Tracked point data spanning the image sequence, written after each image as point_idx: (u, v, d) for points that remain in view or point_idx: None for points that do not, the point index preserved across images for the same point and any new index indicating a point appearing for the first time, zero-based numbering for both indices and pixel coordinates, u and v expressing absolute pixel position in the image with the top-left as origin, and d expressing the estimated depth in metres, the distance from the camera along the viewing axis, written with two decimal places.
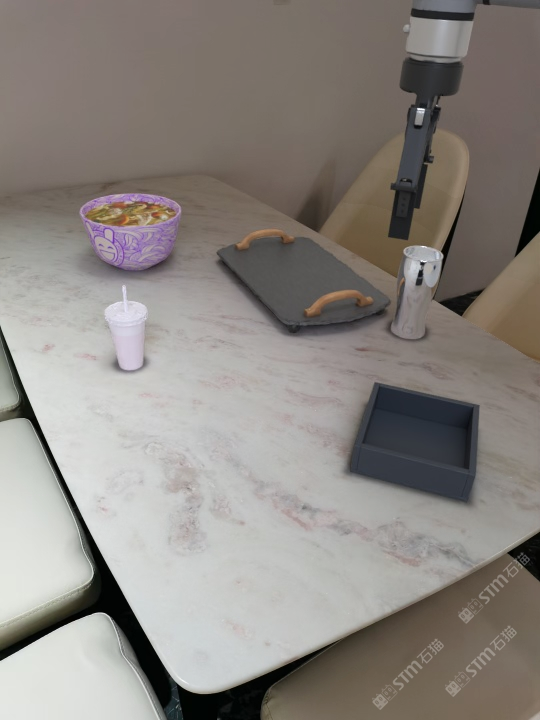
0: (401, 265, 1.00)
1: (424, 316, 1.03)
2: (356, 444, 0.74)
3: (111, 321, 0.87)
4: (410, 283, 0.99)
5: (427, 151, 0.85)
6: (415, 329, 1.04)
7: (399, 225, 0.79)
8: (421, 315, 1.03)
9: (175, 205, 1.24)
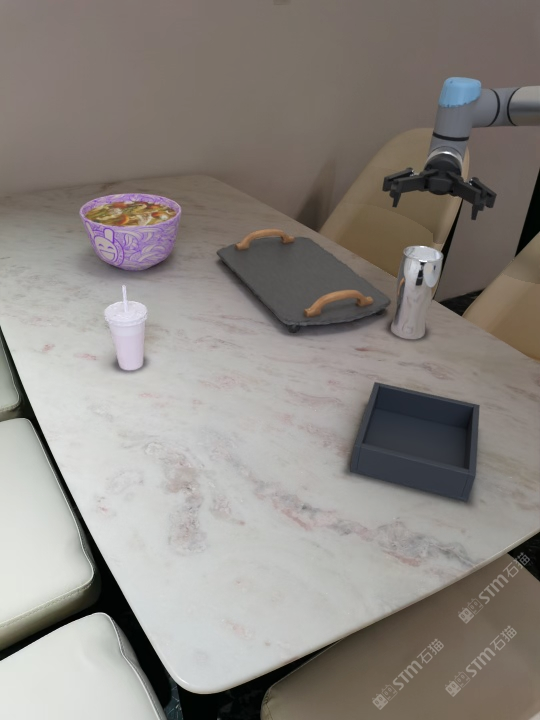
0: (401, 265, 1.00)
1: (424, 316, 1.03)
2: (356, 444, 0.74)
3: (111, 321, 0.87)
4: (410, 283, 0.99)
5: (471, 190, 1.08)
6: (415, 329, 1.04)
7: None
8: (421, 315, 1.03)
9: (175, 205, 1.24)
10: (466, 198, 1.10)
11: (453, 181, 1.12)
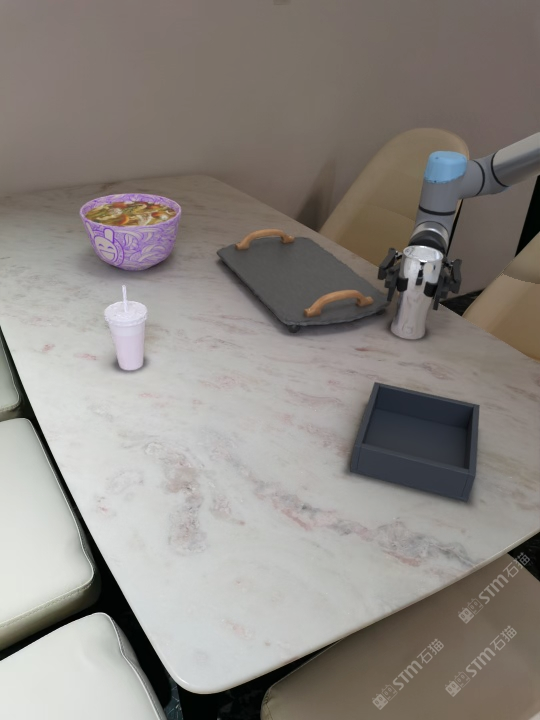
0: (401, 265, 1.00)
1: (424, 316, 1.03)
2: (356, 444, 0.74)
3: (111, 321, 0.87)
4: (410, 283, 0.99)
5: None
6: (415, 329, 1.04)
7: None
8: (421, 315, 1.03)
9: (175, 205, 1.24)
10: None
11: None
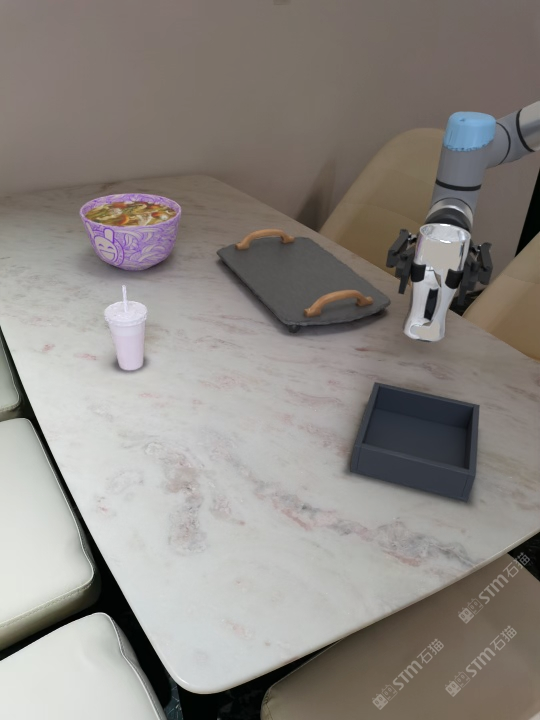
0: (417, 248, 0.78)
1: (445, 313, 0.82)
2: (356, 444, 0.74)
3: (111, 321, 0.87)
4: (428, 271, 0.77)
5: None
6: (434, 329, 0.82)
7: None
8: (441, 311, 0.81)
9: (175, 205, 1.24)
10: None
11: None
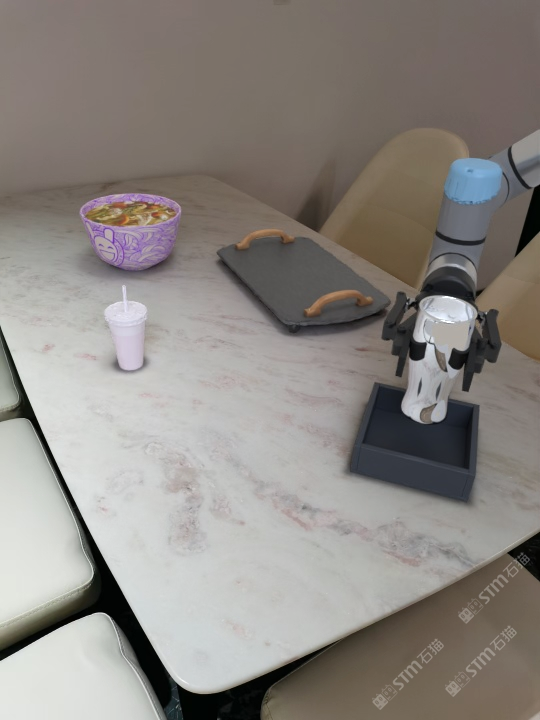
0: (416, 325, 0.69)
1: (448, 394, 0.73)
2: (356, 444, 0.74)
3: (111, 321, 0.87)
4: (429, 352, 0.68)
5: None
6: (435, 412, 0.73)
7: None
8: (443, 393, 0.72)
9: (175, 205, 1.24)
10: None
11: None
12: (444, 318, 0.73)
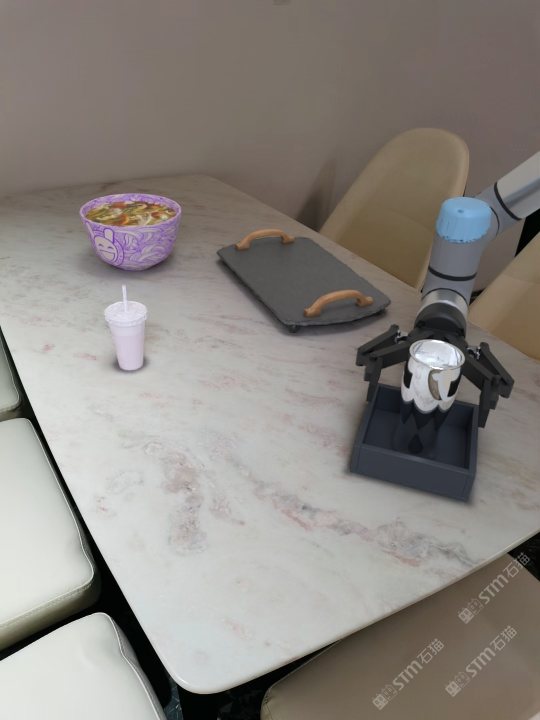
0: (406, 369, 0.73)
1: (437, 433, 0.76)
2: (356, 444, 0.74)
3: (111, 321, 0.87)
4: (419, 395, 0.72)
5: (478, 371, 0.77)
6: (425, 450, 0.77)
7: None
8: (433, 432, 0.76)
9: (175, 205, 1.24)
10: (471, 379, 0.79)
11: None
12: (434, 360, 0.76)
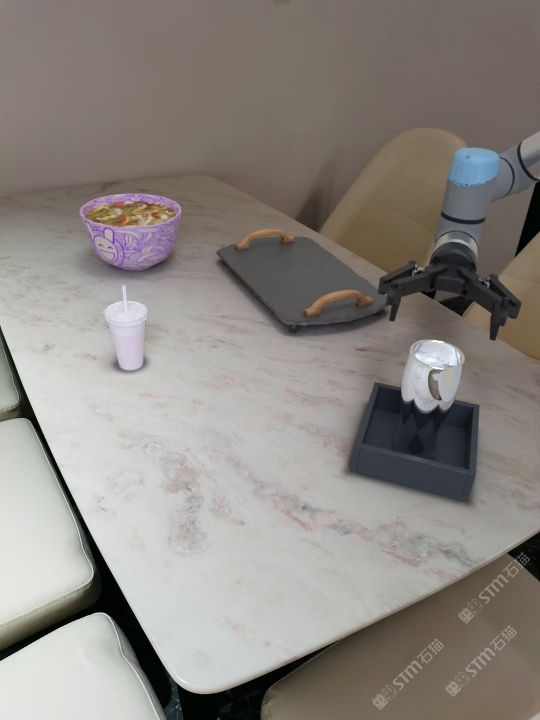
0: (407, 369, 0.73)
1: (437, 433, 0.76)
2: (356, 444, 0.74)
3: (111, 321, 0.87)
4: (419, 395, 0.72)
5: (489, 295, 0.86)
6: (425, 450, 0.77)
7: None
8: (433, 432, 0.75)
9: (175, 205, 1.24)
10: (483, 304, 0.88)
11: (466, 281, 0.90)
12: (434, 360, 0.76)
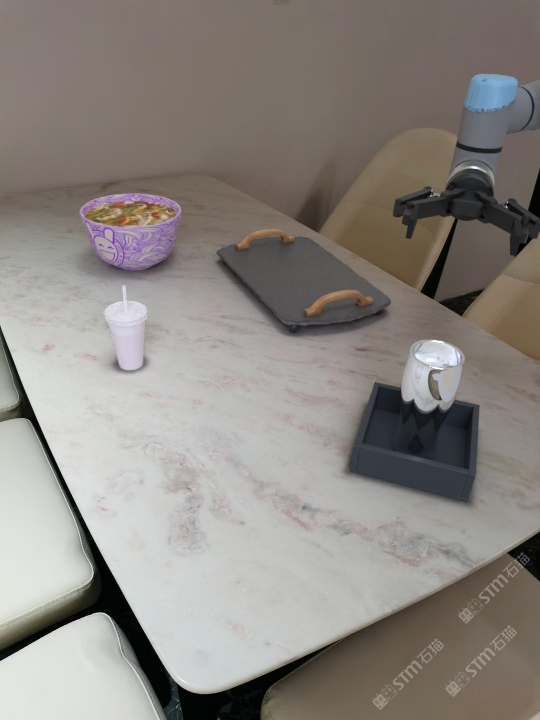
0: (407, 369, 0.73)
1: (437, 433, 0.76)
2: (356, 444, 0.74)
3: (111, 321, 0.87)
4: (419, 395, 0.72)
5: (508, 215, 0.83)
6: (425, 450, 0.77)
7: None
8: (433, 432, 0.75)
9: (175, 205, 1.24)
10: (501, 226, 0.85)
11: (484, 204, 0.88)
12: (434, 360, 0.76)
